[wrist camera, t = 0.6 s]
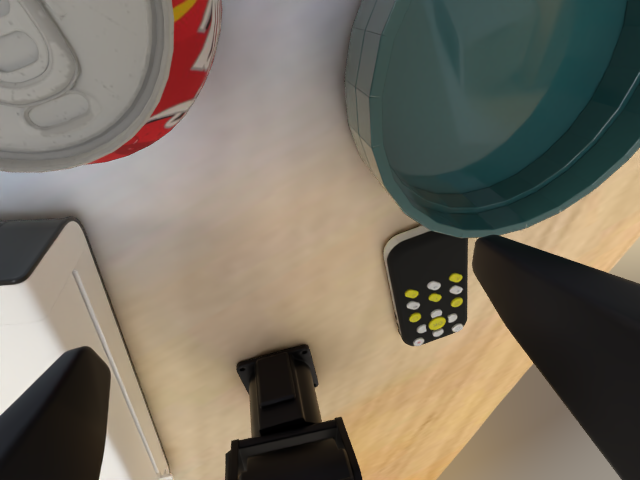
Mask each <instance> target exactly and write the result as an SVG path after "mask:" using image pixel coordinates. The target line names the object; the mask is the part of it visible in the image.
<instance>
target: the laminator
mask: <svg viewBox="0 0 640 480" xmlns="http://www.w3.org/2000/svg"><path fill="white" fill-rule="evenodd" d="M82 346H88V347H91V348H92V349H93V350H94V351H95V352H96V353H97V354H98V355H99V356H100V358H101V359H102V360H103V361H104V362H105V363H106V364H107V365H108V367H109V369H110V372H111V384H110V397H109V409H108V421H107V433H106V442H105V449H104V455H103V461H102V466H101V472H100V477H99V480H173V474H172V473H170V471H169V465H168V462H167V459H166V456H165V454H164V451H163V448H162V445H161V442H160V440H159V437H158V434H157V431H156V428H155V426H154V423H153V420H152V417H151V414H150V412H149V409H148V406H147V403H146V401H145V398H144V395H143V392H142V389H141V387H140V384H139V381H138V378H137V375H136V373H135V370H134V367H133V364H132V361H131V359H130V356H129V353H128V350H127V347H126V345H125V342H124V339H123V336H122V333H121V331H120V328H119V325H118V322H117V320H116V317H115V314H114V311H113V308H112V306H111V303H110V300H109V297H108V294H107V292H106V289H105V286H104V283H103V280H102V278H101V275H100V272H99V269H98V266H97V264H96V261H95V258H94V255H93V252H92V250H91V247H90V244H89V241H88V239H87V236H86V233H85V231H84V228H83V226H82V224H81V223H80V221H79V220H78V219H77V218H75V217H67V218H63V219H45V220H18V221H0V415H1V414H2V413H3V412H4V411H5V410H6V409H7V408H8V407H9V406H10V405H11V404H12V403H13V402H14V401H16V400H17V399H18V398H19V397H20V396H21V395H22V394H23V393H24V392H25V391H26V390H27V389H28V388H29V387H30V386H31V385H32V384H33V383H34V382H35V381H36V380H37V379H38V378H39V377H40V376H41V375H42V374H43V373H44V372H45V371H46V370H47V369H48V368H49V367H50V366H51V365H52V364H53V363H54V362H55V361H56V360H57V359H58V358H59V357H60V356H61V355H62V354H63V353H64V352H66V351H68V350H71V349H75V348H78V347H82Z"/></svg>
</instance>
